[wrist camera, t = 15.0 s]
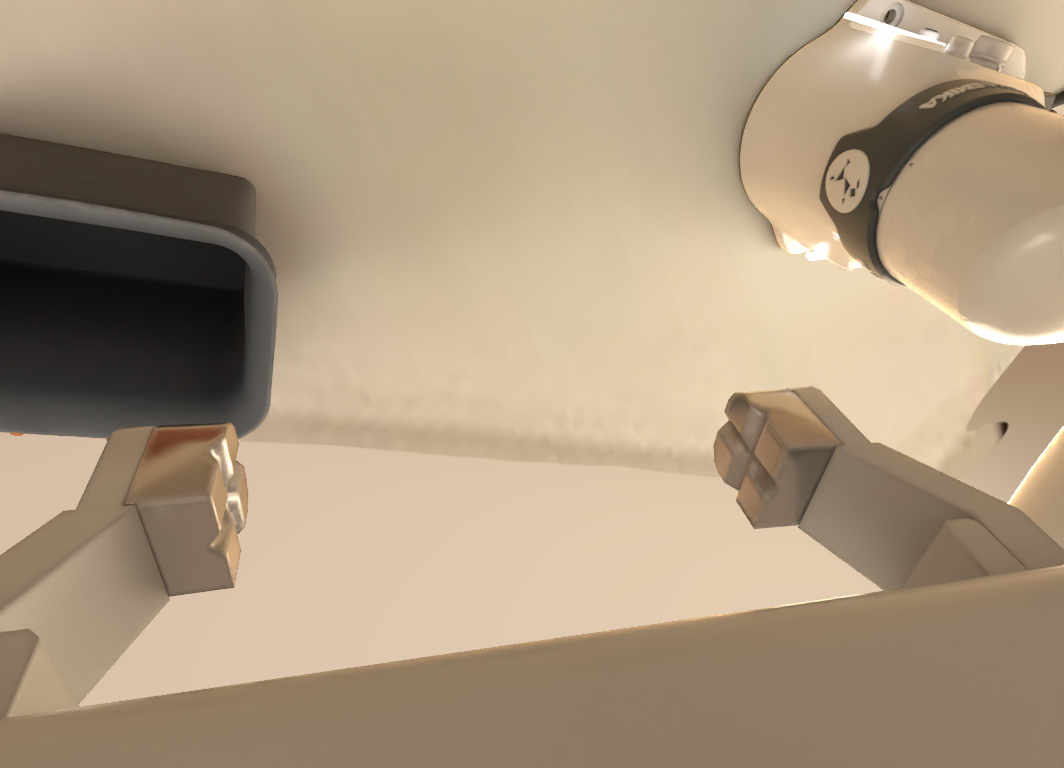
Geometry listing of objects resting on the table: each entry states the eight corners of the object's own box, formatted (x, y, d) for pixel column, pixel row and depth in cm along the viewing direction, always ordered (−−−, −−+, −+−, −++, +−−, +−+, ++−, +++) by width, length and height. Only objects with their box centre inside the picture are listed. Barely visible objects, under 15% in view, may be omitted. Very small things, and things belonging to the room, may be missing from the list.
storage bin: (301, 148, 42) (281, 238, 31) (285, 348, 50) (265, 476, 39) (-114, 63, 35) (-335, 139, 24) (-55, 311, 43) (-198, 455, 32)
